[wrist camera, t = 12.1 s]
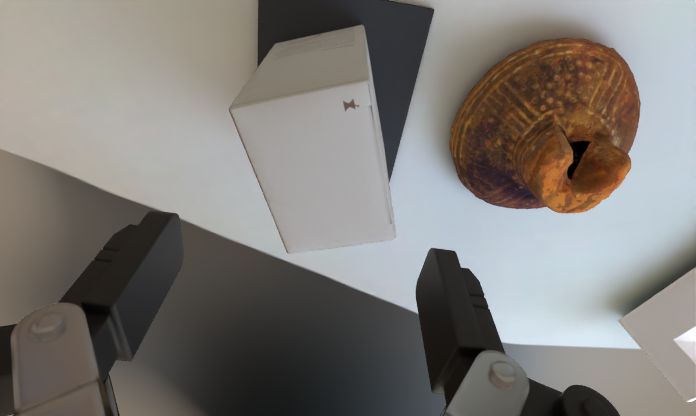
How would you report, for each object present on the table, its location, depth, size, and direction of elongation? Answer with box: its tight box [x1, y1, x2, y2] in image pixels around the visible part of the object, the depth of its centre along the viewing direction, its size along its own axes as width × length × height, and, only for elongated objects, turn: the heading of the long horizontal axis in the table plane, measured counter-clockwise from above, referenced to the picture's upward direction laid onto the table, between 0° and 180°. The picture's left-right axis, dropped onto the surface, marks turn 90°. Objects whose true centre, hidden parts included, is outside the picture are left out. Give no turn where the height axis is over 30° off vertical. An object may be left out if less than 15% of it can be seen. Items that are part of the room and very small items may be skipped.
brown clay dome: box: [450, 38, 640, 213], centre depth 23 cm, size 12×12×7 cm
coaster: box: [258, 0, 434, 182], centre depth 25 cm, size 10×12×1 cm
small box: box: [229, 25, 396, 254], centre depth 20 cm, size 8×6×10 cm
